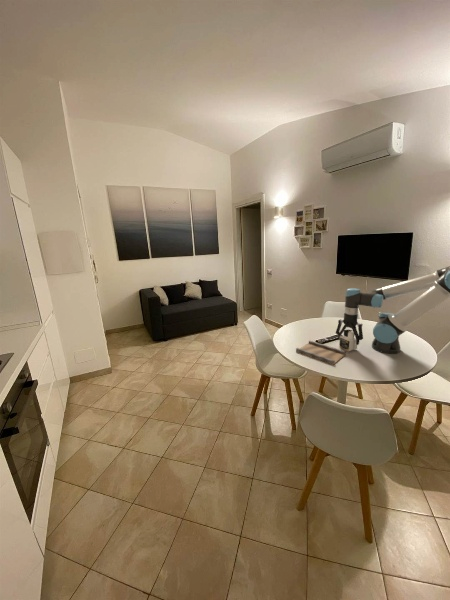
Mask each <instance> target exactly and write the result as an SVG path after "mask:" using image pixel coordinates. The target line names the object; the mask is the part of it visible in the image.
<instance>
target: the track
mask: <svg viewBox="0 0 450 600" xmlns="http://www.w3.org/2000/svg"><path fill="white" fill-rule="evenodd" d="M295 351H296V352H297V353H298V354H299V353H300V354H303V355H305V356H308V357H311V358H314V359H316V360H319V361H322V362H324V363H327V364H329V365H333V366H334V365H335V364H337V362H339V361H340V360H341V359H343V358H344V357H345V356H346V355H347V350H342V349H339V348H335V347H331V346H328V345H325V344H323V343H320V342H316V341H313V340H308V342H307V344H305V345H302V347H300V348H299V347H296V348H295Z"/></svg>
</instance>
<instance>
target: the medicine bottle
mask: <svg viewBox="0 0 450 600" xmlns="http://www.w3.org/2000/svg"><path fill="white" fill-rule="evenodd" d="M355 339H356V337H355V335H354V332H353V330H352V329H345V330H344V332H343V336H342V337H340V340H339V341H340V345H339V348H341V349H343V350H344V351H346V352H351V351H354V344H355Z"/></svg>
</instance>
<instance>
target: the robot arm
mask: <svg viewBox="0 0 450 600" xmlns="http://www.w3.org/2000/svg"><path fill="white" fill-rule="evenodd" d="M422 291H424V292H423V293H422V294H420V295H419V296H417V297H416V298H415V299H414V300H412V301H411V302H409V303H408V304H407V305H405V306H404V307H403V308H401V309H399V310H398V312H395V313H392V312H380V313H379V315H378V320H377V323H376V324H375V325H374V327H373V328H372V335H373V337H374V338H373V341H372V343H371V348H372V349H374V350H375V351H377V352H380V353H383V354H390V355H391V354H392V355H394V354H395V355H397V354H398V353H400V352H401V345H400V340H399V338H400V337H399V336H401V335H402V334H404V333H405V332H407V327H409V326H410V325H412V324H413V323H414V322H416V321H418V320H419V319H421V318H422V317H423V316H425V315H427V314H428V313H429V312H431V311H432V310H433V309H435V308H437V307H438V306H439V305H441V304H443V303H444V302H445V301H447V300H448V299H450V265H449V266H446V267H444V268H441V269H436V270H435V271H434V273H430V274H427V275H423V276H418V277H414V278H411V279H407V280H404V281H401V282H397V283H394V284H390V285H386V286H382V287H379V288H373V289H371V290H370V291H368V293H366V292H361V289H360V288H355V287H350V288H347V289H346V293H345V300H344V311H343V312H344V313H343V319H339V320H338V323H337V324H338V325H337V327H336V331H335V334H336V335H338V341H339V344H338V345H339V346H340V337H342V336H344V330H347V328H350V329H351V330H353V332H354V338H356V339H355V344H354V350H355V351H356V350H357V349H358V346H359V344H360V341H362V340H363V339H364V335H363V334H364V333H363V323H359V322H358V313H359V306H363V307H371V308H382V307H383V304H384V301H385V300H388V299H392V298H396V297H400V296H404V295H409V294H414V293H418V292H422ZM342 324H344V325H343V326H342ZM357 327H358V330H357ZM354 350H353V351H354Z"/></svg>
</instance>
